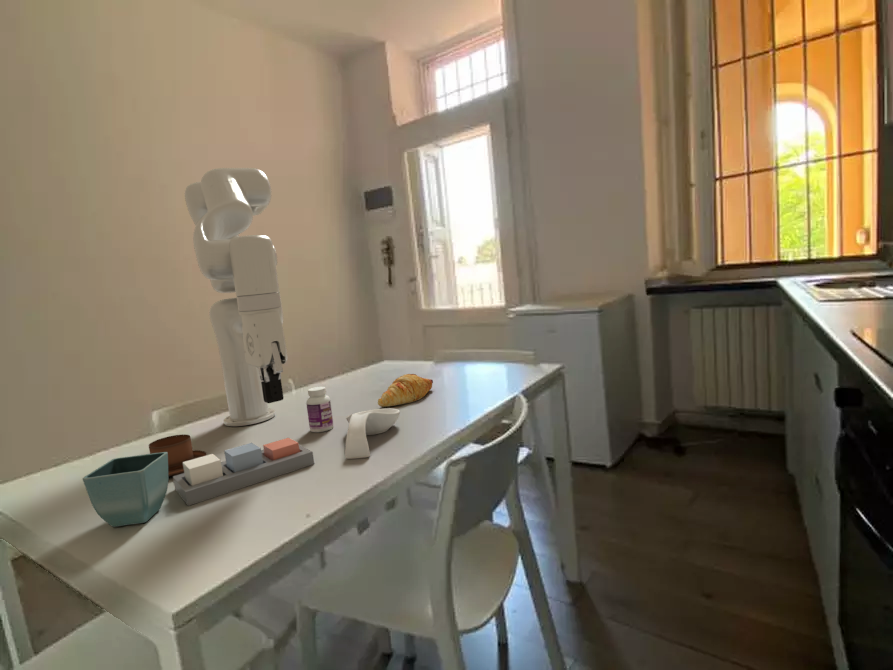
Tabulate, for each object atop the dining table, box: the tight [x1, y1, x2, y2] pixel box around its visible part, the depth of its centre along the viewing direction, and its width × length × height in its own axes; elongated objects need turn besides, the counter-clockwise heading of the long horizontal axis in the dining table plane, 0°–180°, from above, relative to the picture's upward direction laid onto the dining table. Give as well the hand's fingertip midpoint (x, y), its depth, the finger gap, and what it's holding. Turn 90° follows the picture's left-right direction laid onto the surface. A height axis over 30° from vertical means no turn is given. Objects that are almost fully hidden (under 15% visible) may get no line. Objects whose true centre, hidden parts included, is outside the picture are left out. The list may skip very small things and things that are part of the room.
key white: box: [183, 453, 223, 486], centre depth 91 cm, size 5×5×3 cm
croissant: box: [377, 373, 434, 408], centre depth 141 cm, size 21×10×8 cm, turn 143°
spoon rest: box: [344, 407, 401, 460], centre depth 110 cm, size 24×12×7 cm, turn 178°
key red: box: [262, 437, 300, 461], centre depth 100 cm, size 5×5×3 cm
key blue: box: [223, 442, 263, 472], centre depth 95 cm, size 5×5×3 cm
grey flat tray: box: [172, 444, 315, 507], centre depth 96 cm, size 10×22×2 cm, turn 129°
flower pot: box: [82, 452, 169, 528], centre depth 82 cm, size 9×9×9 cm
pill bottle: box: [305, 386, 334, 433], centre depth 120 cm, size 5×5×10 cm
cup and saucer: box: [148, 434, 208, 477], centre depth 103 cm, size 12×12×6 cm
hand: (274, 400), depth 99 cm, fingers closed
